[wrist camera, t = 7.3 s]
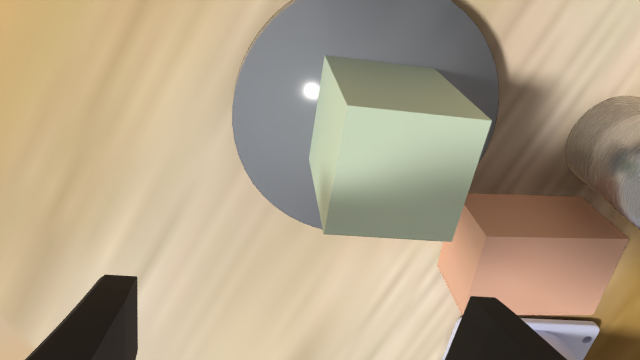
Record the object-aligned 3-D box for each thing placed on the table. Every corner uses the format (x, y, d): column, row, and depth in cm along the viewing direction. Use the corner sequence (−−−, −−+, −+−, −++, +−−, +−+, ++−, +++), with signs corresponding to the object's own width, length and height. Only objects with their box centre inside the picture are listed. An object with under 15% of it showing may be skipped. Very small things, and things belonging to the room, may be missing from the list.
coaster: (447, 227, 22) (455, 240, 21) (224, 210, 21) (223, 224, 20) (524, -2, 18) (538, 2, 17) (245, -49, 16) (244, -46, 15)
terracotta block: (551, 264, 24) (593, 314, 21) (436, 263, 24) (462, 315, 20) (579, 194, 22) (629, 239, 19) (454, 190, 22) (486, 236, 19)
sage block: (408, 167, 19) (451, 241, 15) (308, 158, 19) (323, 234, 14) (434, 68, 18) (492, 120, 13) (324, 55, 17) (347, 105, 13)
